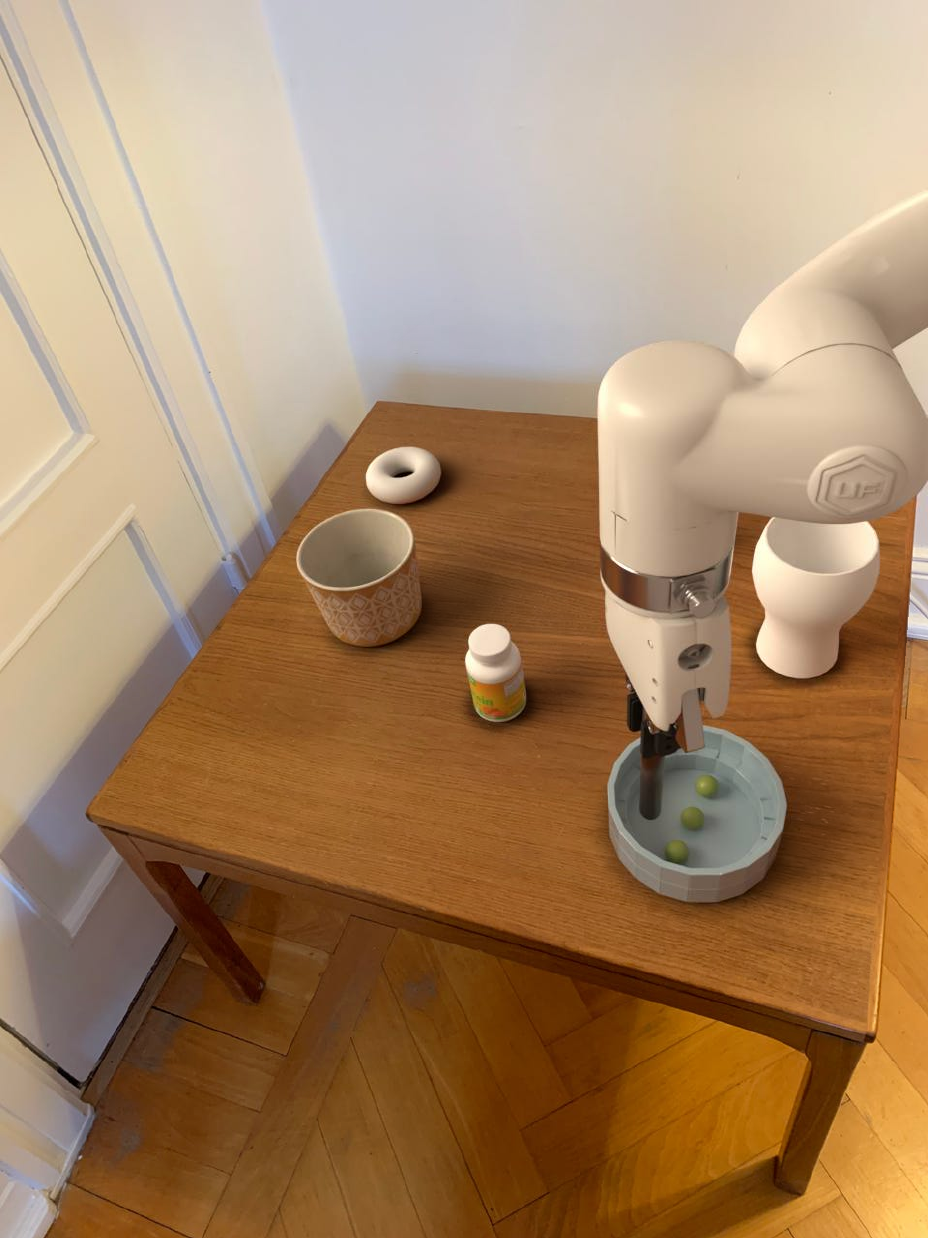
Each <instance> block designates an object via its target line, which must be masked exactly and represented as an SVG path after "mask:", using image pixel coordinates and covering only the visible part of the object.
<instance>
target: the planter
mask: <svg viewBox="0 0 928 1238" xmlns="http://www.w3.org/2000/svg"><path fill="white" fill-rule="evenodd" d="M295 559H296V560H295V561H296V566H297V569H298V572H299V574H300V576H301V578H302V579H303V581H304V583H305V585H306V587H307V589H308V591H309V592H310V595H311V596H312V598H313V600H314V602H315V604H316V606H317V608H318V610H319V612H320V613H321V615H322V617H323V619H324V622H325V623H326V625H327V626H328V629H329V630H330V632H331V633H332V634H333V635H334V636H335V637H336V638H337V639H338V640H340V641H341V642H343V643H346V644H349V645H351V646H355V647H362V648H370V647H371V648H372V647H378V646H379V647H380V646H383V645H386V644H389V643H392V642H394V641H396V640H398V639H399V638H401V637H402V636H404V635H405V634H407V633H408V632H409V631H410V630H411V629H412V628H413V627H414V625H415V624H416V622H417V621H418V619H419V616H420V614H421V612H422V606H423V599H422V591H421V590H422V589H421V582H420V573H419V566H418V565H419V564H418V558H417V550H416V541H415V533H414V531H413V529H412V527H411V525H410V524H409V523H408V522H407V520H405V518H403V517H401V516H400V515H398V514H396V513H395V512H392V511H389V510H384V509H380V508H359V509H358V508H357V509H352V510H347V511H344V512H340V513H338V514H335V515H333V516H330V517H329V518H327V519H325V520H323V521H322V522H320V523H319V524H317V525H316V526H314V527H313V528H312V529H311V530H310V531H309V532H308V533H307V534H306V535H305V537H303V540H302V541H301V542H300V545H299V546H298V549H297V551H296V558H295Z"/></svg>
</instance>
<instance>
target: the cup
mask: <svg viewBox="0 0 928 1238" xmlns="http://www.w3.org/2000/svg"><path fill="white" fill-rule="evenodd" d="M880 553H881V550H880V540H879V538H878V534H877V531H876V530H875V529H874V527H873V526H872V525H871V524H870V521H865V522H859V523H853V524H818V523H808V522H801V521H794V520H787V519H781V518H775V517H770V519H769V521H768V522H767V524H766V525H765V527H764V529H763V530H762V533H761V535H760V537H759V539H758V541H757V543H756V545H755V549H754V555H753V561H752V568H751V574H752V580H753V584H754V588H755V592H756V596H757V598H758V600H759V602H760V603H761V606H762V607H763V609H764V615H765V617H764V620H763V622H762V625H761V626H760V629H759V632H758V634H757V638H756V641H755V647H756V653H757V654H758V657H759V658H760V660H761V661H762V663H764V664H765V665H766V667H767V668H769V669H770V670H772V671H774V672H775V673H777V674H780V675H783V676H785V677H787V678H788V677H789V678H795V679H811V678H815V677H819V676H821V675H823V674H826V673H828V672H829V671H830V670H831V669H832V668H833V667H834V665H835V664H836V663H837V661H838V655H839V647H840V646H839V645H840V631H841V629H842V626H843V625H845V624H846V623H847V622H849V621H851V619H852V618H854V617H855V616H856V615H857V614H858V613H859V612H860V611H861V609H863V607H864V606H865V605H866V603H867V602H869V600H870V598H871V596H872V594H873V592H875V591H874V590H875V588H876V585H877V581H878V578H879V575H880V570H881V569H880V568H881V554H880Z"/></svg>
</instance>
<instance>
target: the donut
mask: <svg viewBox="0 0 928 1238" xmlns="http://www.w3.org/2000/svg"><path fill="white" fill-rule="evenodd" d="M404 473H411V474H409V475H407V476H403V477H395V476H397V475H401V474H404ZM441 475H442V469H441V463H440V462H439V460H438V459H437V458H436V456H435V455H434V454H433V453H432V452H430V451H428V450H427V449H424V448H421V447H417V446H400V447H395V448H392V449H390V450H387V451H385V452H382V454H380V455H378V456H376V457H375V458H374V460H373V461H372V462H371V463H370V464H369V465H368V467H367V471H366V473H365V483H366V488H367V489H368V491H369V492H370V494H371V495H372V496H374V498H376V499H377V500H379V501H381V502H384V503H387V504H392V505H405V504H411V503H414V502H416V501H419V500H421V499H423V498H425V497H426V496H428V495H429V494H431V493H432V492H433V491H434V489H435V488H436V487H437V486H438V485H439V482H440V479H441Z"/></svg>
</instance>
